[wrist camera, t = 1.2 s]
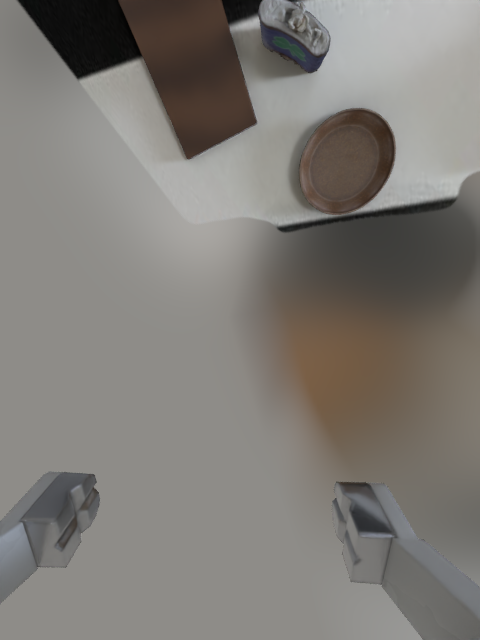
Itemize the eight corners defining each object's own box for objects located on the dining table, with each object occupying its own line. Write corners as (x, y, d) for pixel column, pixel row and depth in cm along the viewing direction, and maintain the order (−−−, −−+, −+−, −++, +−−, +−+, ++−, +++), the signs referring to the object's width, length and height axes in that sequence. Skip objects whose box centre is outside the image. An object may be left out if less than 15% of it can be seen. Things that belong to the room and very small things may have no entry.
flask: (258, 45, 36) (253, 12, 27) (268, 16, 34) (265, -29, 25) (314, 78, 37) (327, 56, 28) (326, 51, 35) (343, 20, 27)
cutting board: (122, 2, 35) (116, -3, 34) (202, -65, 31) (199, -73, 30) (190, 159, 45) (187, 159, 44) (257, 123, 41) (256, 123, 40)
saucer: (282, 188, 46) (282, 190, 44) (332, 89, 37) (336, 85, 35) (349, 225, 48) (352, 229, 46) (410, 139, 40) (418, 139, 37)
